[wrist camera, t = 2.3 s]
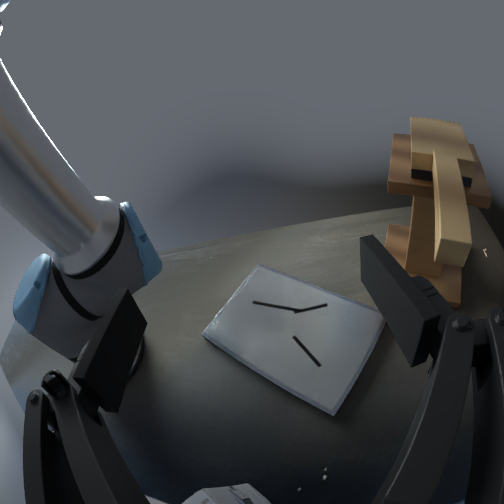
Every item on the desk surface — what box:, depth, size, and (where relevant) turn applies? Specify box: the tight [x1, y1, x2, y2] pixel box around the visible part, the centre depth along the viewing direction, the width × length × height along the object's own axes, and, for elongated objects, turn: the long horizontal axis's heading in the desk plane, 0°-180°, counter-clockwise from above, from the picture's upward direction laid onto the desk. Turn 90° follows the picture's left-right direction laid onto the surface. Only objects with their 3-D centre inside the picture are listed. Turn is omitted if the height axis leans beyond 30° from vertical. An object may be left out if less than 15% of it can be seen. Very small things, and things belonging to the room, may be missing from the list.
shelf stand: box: [385, 134, 492, 309], centre depth 31 cm, size 14×14×20 cm
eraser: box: [410, 117, 475, 267], centre depth 20 cm, size 22×7×4 cm, turn 152°
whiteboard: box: [201, 264, 387, 417], centre depth 38 cm, size 24×16×1 cm, turn 52°
